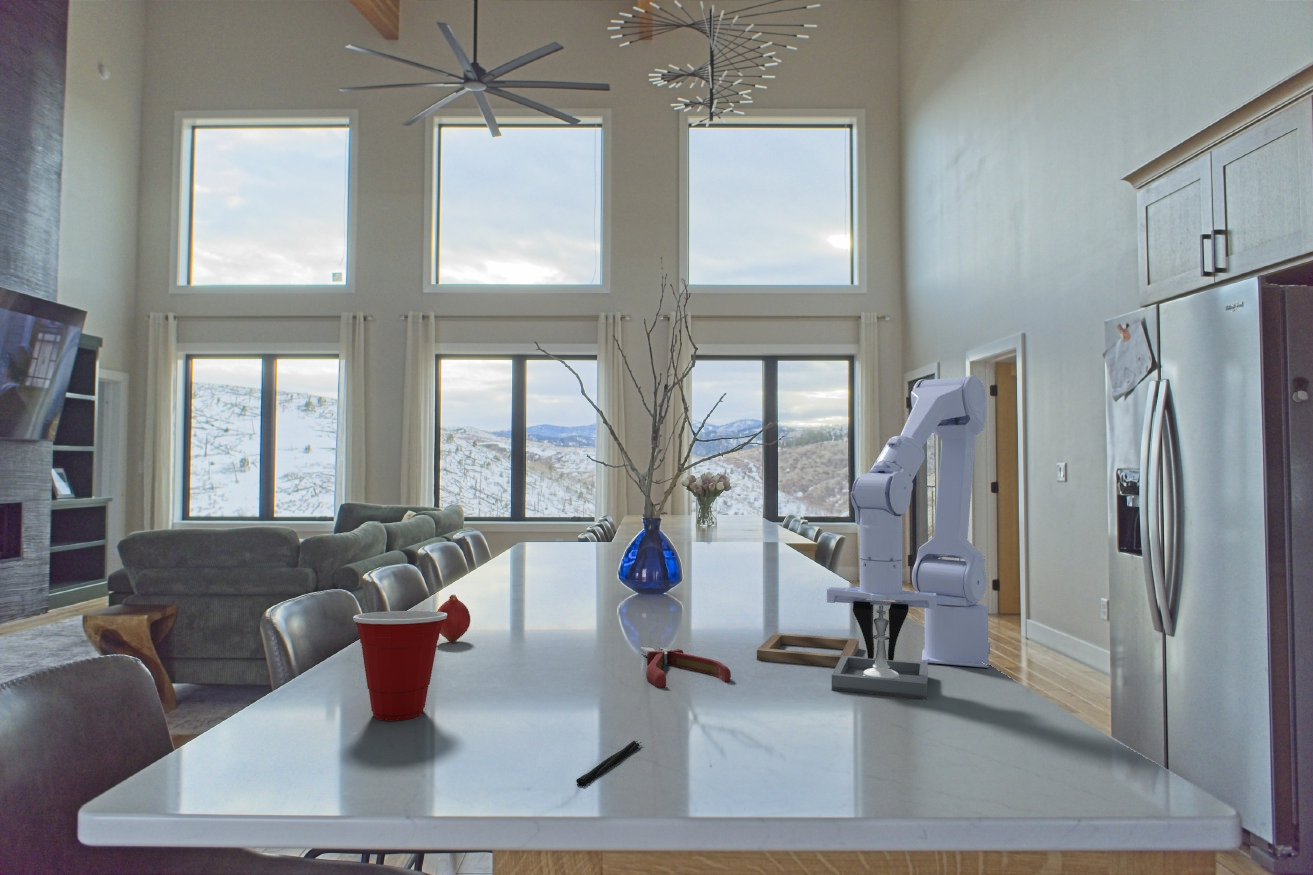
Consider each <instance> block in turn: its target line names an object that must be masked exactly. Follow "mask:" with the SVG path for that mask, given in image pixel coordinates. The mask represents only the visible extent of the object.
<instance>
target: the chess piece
mask: <svg viewBox="0 0 1313 875" xmlns="http://www.w3.org/2000/svg"><path fill="white" fill-rule="evenodd" d="M877 613H878V617H876V618H873V625H874V626H875V630H876V632H877V633H876V634H875V635H874V634H873V639H874V640H877V644H876V645H877V646H876V653H875V654H876V655H875V658H876V660H875V665H873V667H874V668H870V669H867V670H865V671H864V672H863V673H864V675H863V676H870V677H880V678H891V679H900V678H899V674H898V673H897V672H896V671H893V670H891V669H888V668H890V666H888V664H887V659H888V657H887V651H886V640H887V641H889V635H886V631H887V627H888V626H889V619H888V618H885V617H884V616H885V615H886V614H887V612H886V610H884V605H878V608H877V609H876V614H877Z"/></svg>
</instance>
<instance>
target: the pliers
mask: <svg viewBox="0 0 1313 875" xmlns="http://www.w3.org/2000/svg"><path fill="white" fill-rule="evenodd" d="M639 650H640V651H641V652H642V653H643V654H644V656H646V665H647V668H646V670H645V677H646V680H647V682H648V683H650V684H652V685H653V686H654V687H655V688H660V689H665V688H667V676H666V673H665V671H664V670H662V669H663V668H664V666H665V665H668V666H673V667H678V668H682V669H686V670H690V671H695V672H698V673H699V672H700V673H705V674H707V675H711V676H714V677H715V678H717V679H719V680H721V681H722V682H723V683H728V682H730V681H731V678H732V673H731V670H730V669H729V667H728V666H727V665H725V664H724V663H722V662H720V661H717V660H716V659H715V660H714V659H711V658H707V657H702V656H698V655H693V654H690V653H689V654H688V653H684V651H683V650H682V649H679V648H677V649H671V650H669V649H667V648H663V647H658V646H656V649H655V648H652V647H644V646H643V647H642V646H640V647H639Z"/></svg>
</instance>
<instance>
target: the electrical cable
mask: <svg viewBox="0 0 1313 875" xmlns="http://www.w3.org/2000/svg"><path fill="white" fill-rule="evenodd" d="M641 744H642V740H640V741H639V739H636V740H633V741H631V742H629V743H628V744H627V745H626V746H624V747H623V748H622V749H621V750H619V751H617V752H616V753H614V754H612V755H611V756H610V755H609V757H607V758H606V759H605V760H602V762H600V763H598V764H597V765H596V766H595V767H593V768H592V769H591V770H590V771H588V772H587V773H585V774H583V775H582V776H580V777H578V778H576V779H575V780H576V781H575V782H576V783H577V784H576V786H578V787H579V786H580V787H586V786H587V785H589V784H590V783H592V782H593V781H594V780H596V778H598V777H599V776H600V775H601V774H603V773H604V772H606V771H607V770H609V769H611V768H612V767H614V766H615V765H618V764H619V763H620V762H622V761H623V760H624V759H626V758H627V757H628V756H629V755H631V754H632V753H633V752H634V751H636V750H637V749H639V747H641V746H642V745H641Z"/></svg>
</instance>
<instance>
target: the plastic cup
mask: <svg viewBox="0 0 1313 875" xmlns="http://www.w3.org/2000/svg"><path fill="white" fill-rule="evenodd" d="M446 617H447V613H443V612H437V611H435V610H434V611H433V610H432V611H431V610H391V611H376V612H367V613H360V614H355V615H354V616H352V619H353V622H355V625H356V628H357V631H358V632H357V634H358V635H359V641H360V642H359V643H360V644H361V651H362V658H363V664H364V671H365V672H364V673H365V679H366V685H367V686H366V687H367V690H368V695H369V701H370V707H371V712H372V717H373V718H375V719H376V720H378V721H379V720H380V721H388V722H389V721H391V722H394V721H405V720H409V719H410V720H411V719H414V718H418V717H419V716H421V715H422V714H423V713H424V710H425V709H426V708H425V707H426V702H427V696H428V691H429V686H430V683H431V680H432V678H431V677H432V672H433V667H434V663H435V661H434V660H435V657H436V652H437V650H436V649H437V645H438V641H439V637H440V635H441V634H440V631H441V627H442V625H443V622H444V619H446ZM424 708H425V709H424Z"/></svg>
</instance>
